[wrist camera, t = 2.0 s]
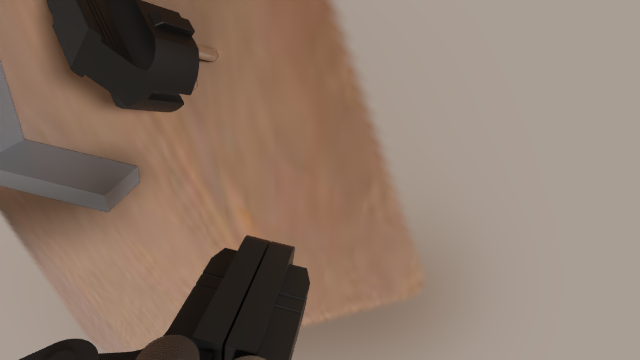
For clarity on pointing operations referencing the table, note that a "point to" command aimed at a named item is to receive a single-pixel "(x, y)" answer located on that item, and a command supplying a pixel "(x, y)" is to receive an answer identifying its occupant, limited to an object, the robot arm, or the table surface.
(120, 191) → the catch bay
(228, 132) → the table surface
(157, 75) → the power plug
